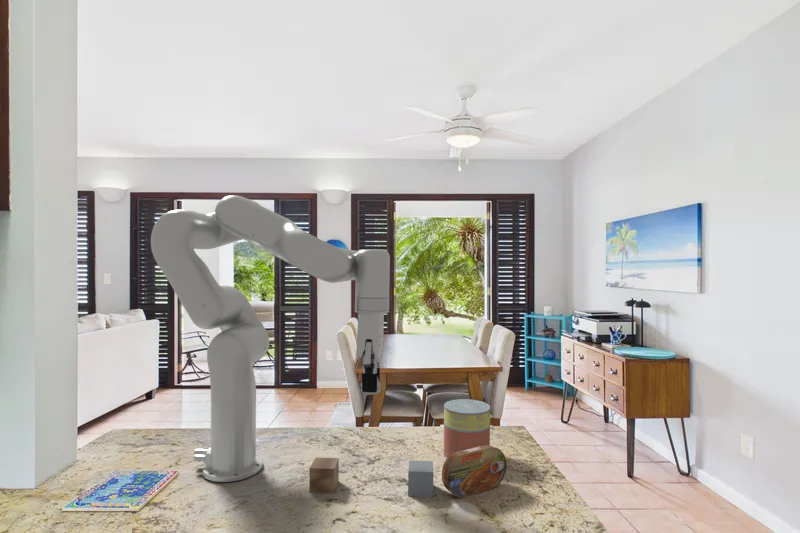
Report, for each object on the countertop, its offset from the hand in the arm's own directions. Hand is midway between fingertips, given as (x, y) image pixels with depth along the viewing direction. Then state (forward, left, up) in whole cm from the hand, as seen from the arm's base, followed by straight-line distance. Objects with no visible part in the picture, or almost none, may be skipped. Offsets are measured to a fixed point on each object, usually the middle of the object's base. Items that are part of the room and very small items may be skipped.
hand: (370, 387), depth 98 cm
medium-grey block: (+11, -6, -19) cm, 23 cm away
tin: (+22, -5, -19) cm, 30 cm away
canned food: (+22, +12, -19) cm, 32 cm away
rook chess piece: (0, 0, -1) cm, 1 cm away
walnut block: (-9, -6, -19) cm, 22 cm away
